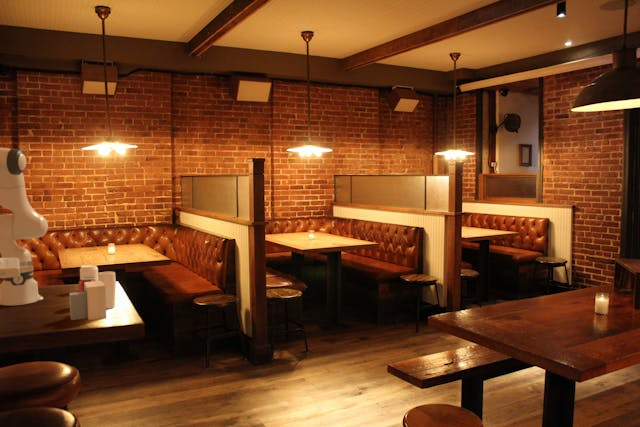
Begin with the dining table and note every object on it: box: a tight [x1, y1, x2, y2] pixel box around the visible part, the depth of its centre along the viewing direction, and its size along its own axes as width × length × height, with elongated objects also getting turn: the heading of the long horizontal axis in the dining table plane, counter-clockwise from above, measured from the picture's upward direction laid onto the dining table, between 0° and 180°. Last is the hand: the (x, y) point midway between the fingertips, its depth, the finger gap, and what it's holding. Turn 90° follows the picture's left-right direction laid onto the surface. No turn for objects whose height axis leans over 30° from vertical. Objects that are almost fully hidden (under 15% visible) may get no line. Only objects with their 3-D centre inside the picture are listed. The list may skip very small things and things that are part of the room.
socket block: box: [84, 280, 107, 321], centre depth 221 cm, size 11×6×13 cm, turn 29°
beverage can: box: [79, 264, 99, 281], centre depth 266 cm, size 8×8×12 cm
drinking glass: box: [98, 271, 117, 310], centre depth 233 cm, size 7×7×15 cm
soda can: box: [78, 277, 95, 292], centre depth 237 cm, size 7×7×12 cm
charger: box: [69, 291, 88, 321], centre depth 219 cm, size 4×9×10 cm, turn 119°
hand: (33, 265), depth 213 cm, fingers open, 8 cm apart
